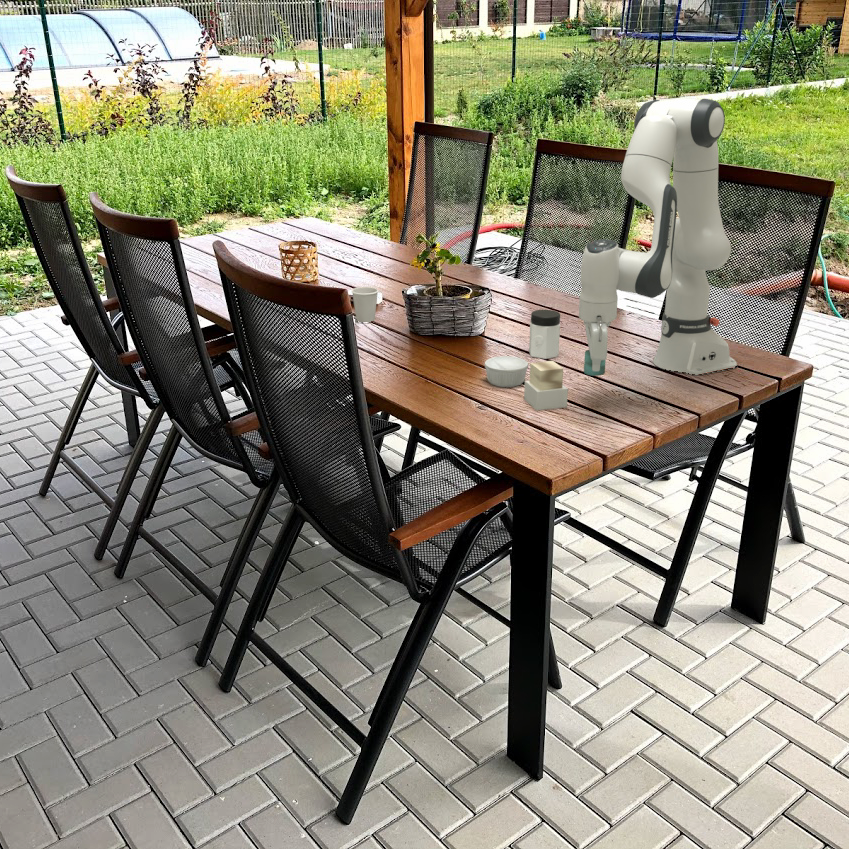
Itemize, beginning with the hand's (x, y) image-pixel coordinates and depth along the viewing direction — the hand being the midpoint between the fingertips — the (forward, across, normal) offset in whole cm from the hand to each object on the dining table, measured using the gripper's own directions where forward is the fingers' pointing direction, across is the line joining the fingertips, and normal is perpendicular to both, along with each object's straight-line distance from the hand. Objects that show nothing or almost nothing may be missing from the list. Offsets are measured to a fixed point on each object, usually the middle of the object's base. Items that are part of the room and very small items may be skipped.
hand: (594, 365), depth 223 cm
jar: (+10, +38, +11) cm, 41 cm away
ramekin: (+10, +14, +22) cm, 28 cm away
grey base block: (+10, 0, +12) cm, 15 cm away
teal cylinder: (+2, 0, 0) cm, 2 cm away
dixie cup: (+9, +64, +67) cm, 93 cm away
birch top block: (+5, 0, +12) cm, 13 cm away
